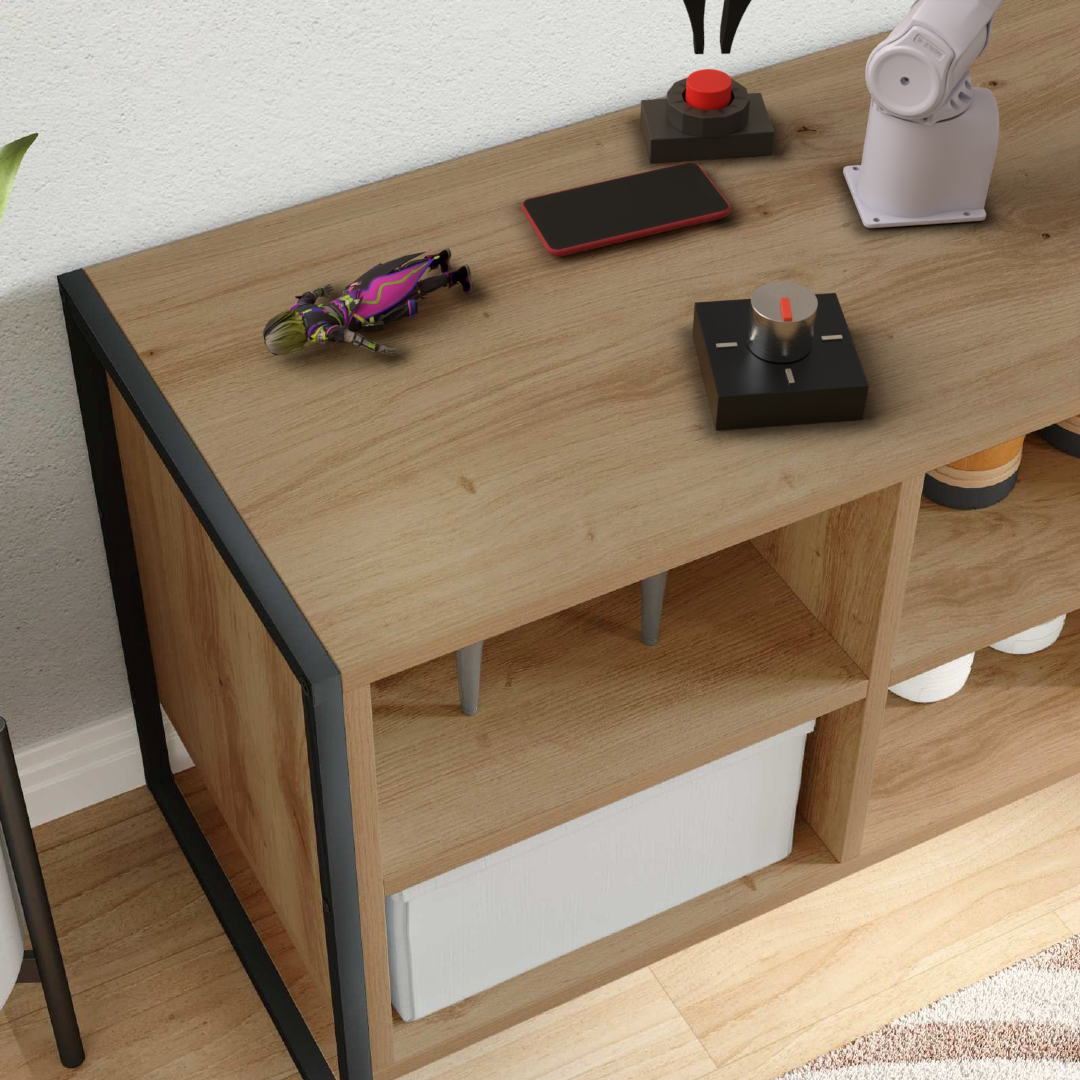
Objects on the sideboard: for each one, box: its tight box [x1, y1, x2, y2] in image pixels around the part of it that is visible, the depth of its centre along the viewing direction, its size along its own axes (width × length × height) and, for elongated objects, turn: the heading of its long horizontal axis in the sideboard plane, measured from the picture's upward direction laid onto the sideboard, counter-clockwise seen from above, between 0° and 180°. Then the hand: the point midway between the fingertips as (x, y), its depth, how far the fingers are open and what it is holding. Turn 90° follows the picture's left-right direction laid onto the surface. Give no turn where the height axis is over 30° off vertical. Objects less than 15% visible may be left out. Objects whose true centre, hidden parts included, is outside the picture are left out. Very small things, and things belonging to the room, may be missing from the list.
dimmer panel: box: [692, 292, 870, 431], centre depth 108 cm, size 10×10×3 cm
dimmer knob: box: [747, 280, 818, 363], centre depth 105 cm, size 4×4×4 cm
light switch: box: [639, 76, 775, 164], centre depth 128 cm, size 10×6×4 cm, turn 95°
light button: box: [686, 68, 732, 110], centre depth 126 cm, size 4×4×2 cm
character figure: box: [262, 247, 474, 356], centre depth 112 cm, size 9×4×16 cm
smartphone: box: [521, 161, 732, 258], centre depth 122 cm, size 7×1×15 cm
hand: (711, 47), depth 123 cm, fingers closed
